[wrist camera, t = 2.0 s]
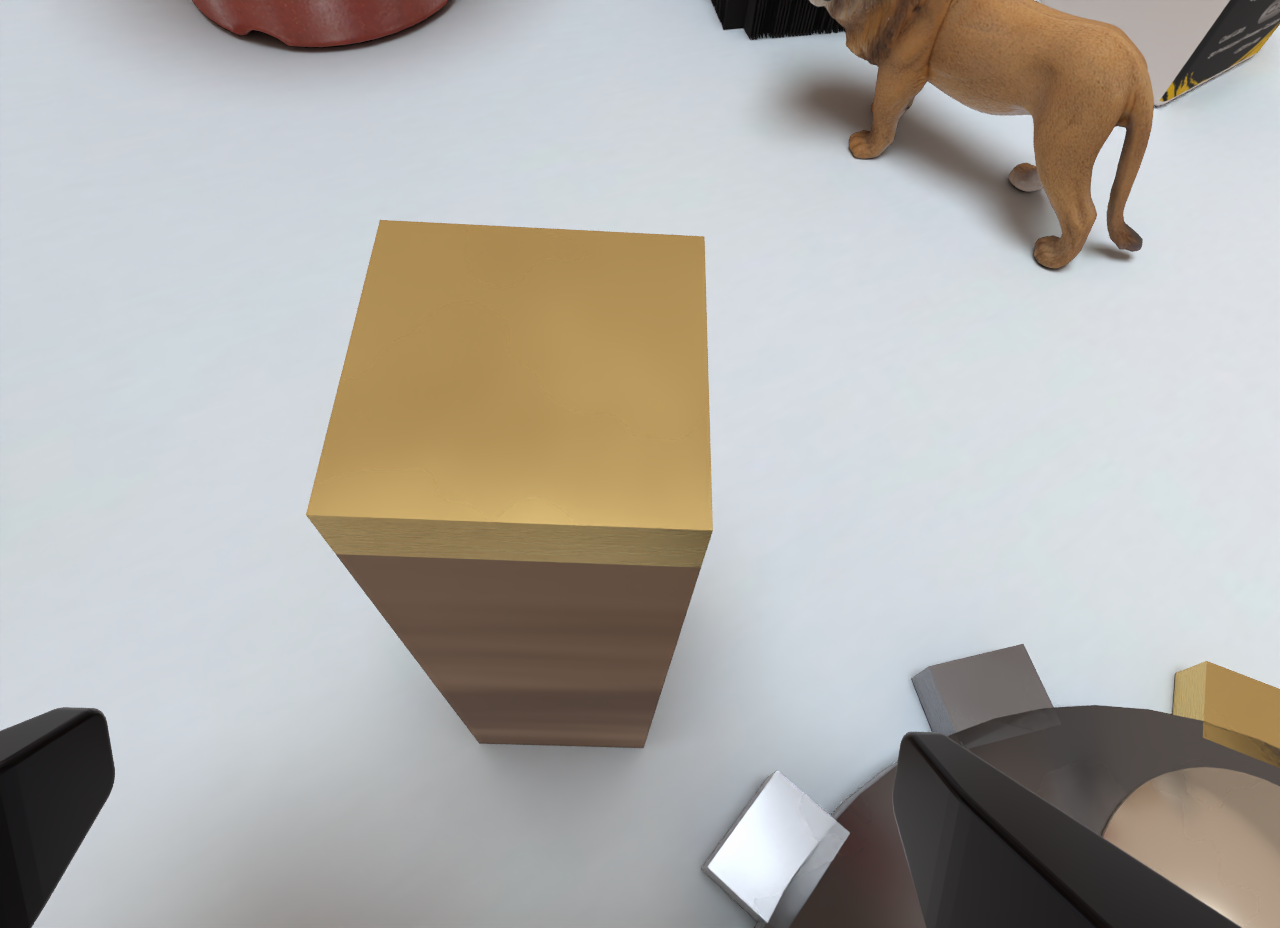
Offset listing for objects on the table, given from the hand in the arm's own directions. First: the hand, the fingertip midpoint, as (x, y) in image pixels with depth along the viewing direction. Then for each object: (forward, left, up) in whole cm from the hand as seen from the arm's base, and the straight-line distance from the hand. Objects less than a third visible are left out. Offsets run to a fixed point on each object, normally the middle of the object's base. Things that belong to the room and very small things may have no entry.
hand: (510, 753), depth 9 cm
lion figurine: (+26, +4, -11) cm, 28 cm away
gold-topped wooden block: (+3, +2, -11) cm, 11 cm away
